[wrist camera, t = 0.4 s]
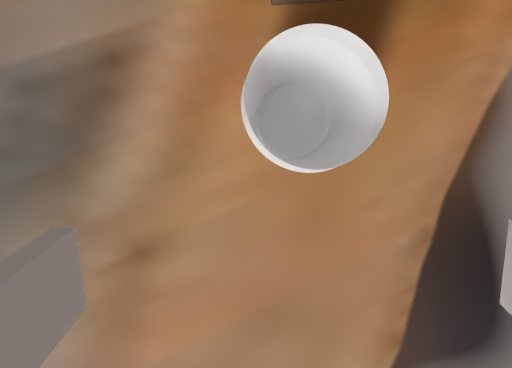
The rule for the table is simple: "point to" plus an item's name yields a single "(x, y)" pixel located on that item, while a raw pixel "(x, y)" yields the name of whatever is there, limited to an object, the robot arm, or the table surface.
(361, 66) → the cup
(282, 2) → the peg stand
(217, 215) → the table surface
